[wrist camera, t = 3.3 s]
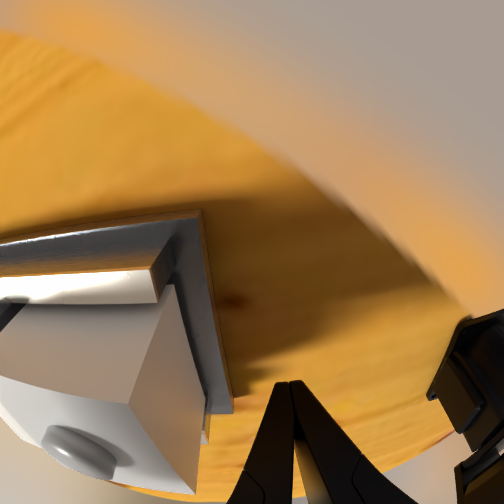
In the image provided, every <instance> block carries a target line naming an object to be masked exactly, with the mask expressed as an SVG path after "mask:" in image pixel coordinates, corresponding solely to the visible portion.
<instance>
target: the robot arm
mask: <svg viewBox="0 0 504 504" xmlns="http://www.w3.org/2000/svg"><path fill="white" fill-rule="evenodd" d="M426 397H427V399H428V401H431V400H434V399H437V398H438V399H439V401H440V402H441V404H442V406H443V408H444V410H445V412H446V413H447V415H448V417H449V419H450V421H451V423H452V425H453V427H454V429H455V431H456V432H457V433H458V434H461V433H463V434H464V436H465V438H466V440H467V442H468V444H469V446H470V449H471V451H472V452H475V451H476V450H477V449H478V450H477V451H476V452H475V453H474V454H473V455H471V456H470V457H469V458H468V459H466V460H465V461H463V462H461V463H459V464H458V465H457V466H456V467H455V468H454V473H455V481H456V492H457V504H504V453H503V454H502V455H501V456H500V455H499V452H500V451H501V450H502V449H504V309H502V310H499V311H496V312H493V313H490V314H487V315H484V316H481V317H478V318H475V319H472V320H468V321H465V322H462V323H461V324H459V325H458V326H457V328H456V329H455V331H454V334H453V337H452V339H451V342H450V344H449V347H448V349H447V351H446V354H445V356H444V358H443V361H442V363H441V365H440V367H439V369H438V371H437V374H436V376H435V378H434V380H433V382H432V384H431V386H430V388H429V390H428V392H427V394H426ZM294 449H295V453H296V457H297V461H298V465H299V468H300V472H301V476H302V480H303V484H304V488H305V492H306V496H307V500H308V504H418V503H417V502H415V501H414V500H413V499H412V498H410V497H409V496H408V495H407V494H405V493H404V492H403V491H401V490H400V489H399V488H398V487H397V486H395V485H394V484H393V483H391V482H390V481H389V480H388V479H387V478H386V477H385V476H384V475H383V474H381V473H380V472H379V471H378V470H377V469H376V468H375V466H374V465H373V464H372V463H371V462H370V461H369V460H368V459H367V458H366V457H365V455H364V454H362V452H361V451H360V450H359V449H358V447H357V446H356V445H355V444H354V443H353V442H352V440H351V439H350V438H349V437H348V436H347V435H346V433H345V432H344V431H343V430H342V429H341V427H340V426H339V425H338V424H337V423H336V421H335V420H334V419H333V418H332V417H331V415H330V414H329V413H328V412H327V410H326V409H325V408H324V407H323V406H322V404H321V403H320V402H319V401H318V399H317V398H316V397H315V396H314V394H313V393H312V392H311V391H310V389H309V388H308V387H307V386H306V384H305V383H304V382H303V381H302V380H294V381H290V382H289V383H288V382H286V381H285V382H276V383H275V385H274V388H273V391H272V394H271V396H270V399H269V402H268V405H267V408H266V411H265V413H264V416H263V419H262V422H261V424H260V427H259V430H258V432H257V435H256V438H255V440H254V443H253V446H252V448H251V451H250V453H249V456H248V458H247V461H246V463H245V466H244V468H243V469H244V470H243V471H242V473H241V475H240V478H239V480H238V482H237V484H236V486H235V489H234V491H233V493H232V495H231V496H230V498H229V500H228V501H227V503H226V504H292V487H293V463H294Z"/></svg>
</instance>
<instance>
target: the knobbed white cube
mask: <svg viewBox="0 0 504 504" xmlns="http://www.w3.org/2000/svg"><path fill="white" fill-rule="evenodd" d="M0 403H1V404H2V405H3V406H4V408H5V409H6V410H7V411H8V412H9V414H10V415H11V416H12V417H13V418H14V419H15V420H16V422H17V423H18V424H19V425H20V426H21V427H22V428H23V429H24V430H25V431H26V432H27V433H28V434H29V436H30V437H31V438H32V439H33V440H34V441H35V442H36V443H37V444H38V445H40V446H41V447H42V448H43V449H44V450H45V451H46V452H47V453H48V454H49V455H50V456H51V457H53V458H54V459H55V460H56V461H57V462H58V463H59V464H61V465H62V466H64V467H67V468H70V469H73V470H76V471H78V472H80V473H82V474H85V475H87V476H90V477H93V478H96V479H101V480H110V481H114V482H118V483H122V484H126V485H131V486H136V487H141V488H147V489H153V490H159V491H166V492H174V493H183V494H194V495H196V485H197V474H198V463H199V453H200V444H201V434H202V425H203V416H204V407H205V396H204V393H203V390H202V387H201V384H200V380H199V377H198V374H197V371H196V367H195V364H194V360H193V357H192V353H191V350H190V346H189V343H188V339H187V335H186V332H185V328H184V324H183V320H182V316H181V312H180V308H179V304H178V300H177V296H176V291H175V287H174V284H173V285H166V286H165V288H164V290H163V293H162V295H161V297H160V299H159V301H158V303H138V304H33V303H27V304H26V305H25V306H24V307H23V308H22V309H21V310H20V311H19V312H18V314H17V315H16V316H15V317H14V318H13V319H12V320H11V321H10V322H9V323H8V324H7V326H6V327H5V328H4V329H3V330H2V331H1V332H0Z"/></svg>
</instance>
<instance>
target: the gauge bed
mask: <svg viewBox="0 0 504 504" xmlns="http://www.w3.org/2000/svg"><path fill="white" fill-rule="evenodd" d="M173 284H174V287H175V291H176V296H177V300H178V304H179V308H180V312H181V316H182V320H183V324H184V328H185V332H186V335H187V339H188V343H189V346H190V350H191V353H192V357H193V360H194V364H195V367H196V371H197V374H198V377H199V380H200V384H201V387H202V390H203V393H204V396H205V407H204V416H203V425H202V434H201V444H208V443H209V432H210V420H211V414H233V409H234V398H233V393H232V388H231V383H230V378H229V373H228V368H227V363H226V358H225V353H224V347H223V342H222V336H221V331H220V325H219V320H218V314H217V308H216V302H215V296H214V290H213V284H212V277H211V271H210V264H209V258H208V251H207V244H206V237H205V230H204V222H203V215H202V209H196V210H186V211H177V212H168V213H160V214H151V215H143V216H135V217H128V218H120V219H113V220H106V221H99V222H93V223H86V224H80V225H74V226H67V227H61V228H56V229H50V230H44V231H39V232H33V233H28V234H23V235H18V236H12V237H8V238H3V239H0V302H6V303H33V304H138V303H158V301H159V299H160V297H161V295H162V293H163V290H164V288H165V286H166V285H173Z"/></svg>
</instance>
